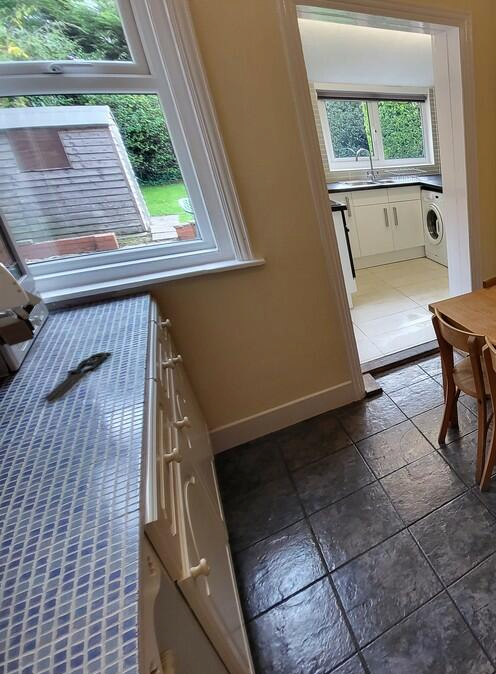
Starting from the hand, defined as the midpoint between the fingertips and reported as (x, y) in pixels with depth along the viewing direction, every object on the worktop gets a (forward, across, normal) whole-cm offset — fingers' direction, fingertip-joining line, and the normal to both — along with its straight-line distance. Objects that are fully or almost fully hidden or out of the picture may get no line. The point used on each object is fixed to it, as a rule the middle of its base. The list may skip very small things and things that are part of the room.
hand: (15, 338), depth 92 cm
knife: (+16, -6, -3) cm, 17 cm away
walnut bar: (0, 0, 0) cm, 0 cm away
